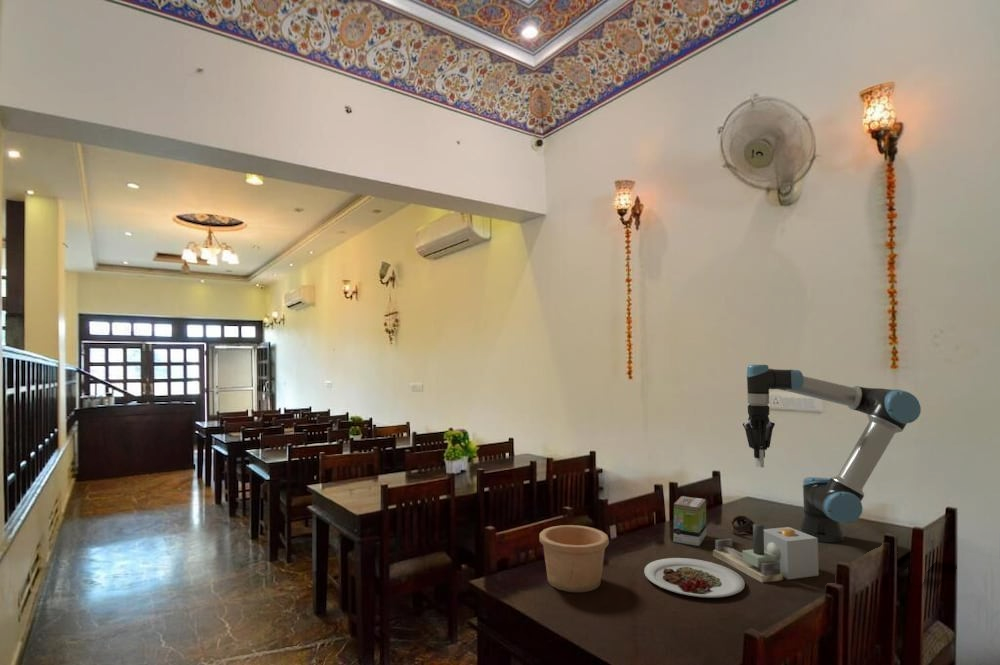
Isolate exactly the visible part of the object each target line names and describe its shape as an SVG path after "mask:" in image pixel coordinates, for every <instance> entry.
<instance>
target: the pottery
mask: <svg viewBox="0 0 1000 665" xmlns="http://www.w3.org/2000/svg"><path fill="white" fill-rule="evenodd" d="M538 537H539V539H538V540H539V541H538V542H539V543H540V544H541V545H542V546H543V556H544V561H545V567H546V568H545V570H546V578H547V582H548V584H549V585H550V586H551V587H553V588H555V589H557V590H559V591H563V592H568V593H575V594H576V593H588V592H592V591H594V590H596V589H598V588H599V587H600V585H601V584H602V583H601V582H602V581H601V580H602V575H603V574H602V573H603V565H604V559H605V551H606V548H607V546H608V545H609V544H610V539H609V536H608V534H606V533H605V532H604V531H602V530H600V529H598V528H595V527H590V526H585V525H578V524H577V525H575V524H574V525H573V524H565V525H564V524H563V525H562V524H561V525H556V526H550V527H547V528H544V529H542V531H541V532H540V533H539V536H538Z"/></svg>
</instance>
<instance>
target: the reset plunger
mask: <svg viewBox="0 0 1000 665" xmlns="http://www.w3.org/2000/svg"><path fill="white" fill-rule="evenodd" d="M781 534H782V535H785V536H787V537H791V536H795V531H794V530H790V529H782V530H781Z"/></svg>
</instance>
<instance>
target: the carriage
mask: <svg viewBox="0 0 1000 665" xmlns="http://www.w3.org/2000/svg"><path fill="white" fill-rule="evenodd" d="M764 527H765V526H764V524H760V523H755V524H753V532H752V540H753V541H752V542H753V544H752V547H753V548H752V549H745V550H744V549H742V552H741V553H742V555H743V560H744V561H746V562H748V563H750V564H752V565H754V566H756V567H761V563H763V562H772V561H776V556H775V555H773V554H771V553H769V552H766V551H764V529H765V528H764Z"/></svg>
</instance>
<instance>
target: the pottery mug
mask: <svg viewBox="0 0 1000 665" xmlns="http://www.w3.org/2000/svg"><path fill="white" fill-rule="evenodd" d="M730 522H731V533H732V534H733V535H734V534H735V533H739V534H741V533H745V532H752V533H753V524H756V523H755V522H754V520H752V519H751V518H749V517H748V515H746V514H745V515H743V514H738V515H737V516H735V517H733V518H732V519H731V521H730ZM735 522H736V523H737V525H735V524H734V523H735Z"/></svg>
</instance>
